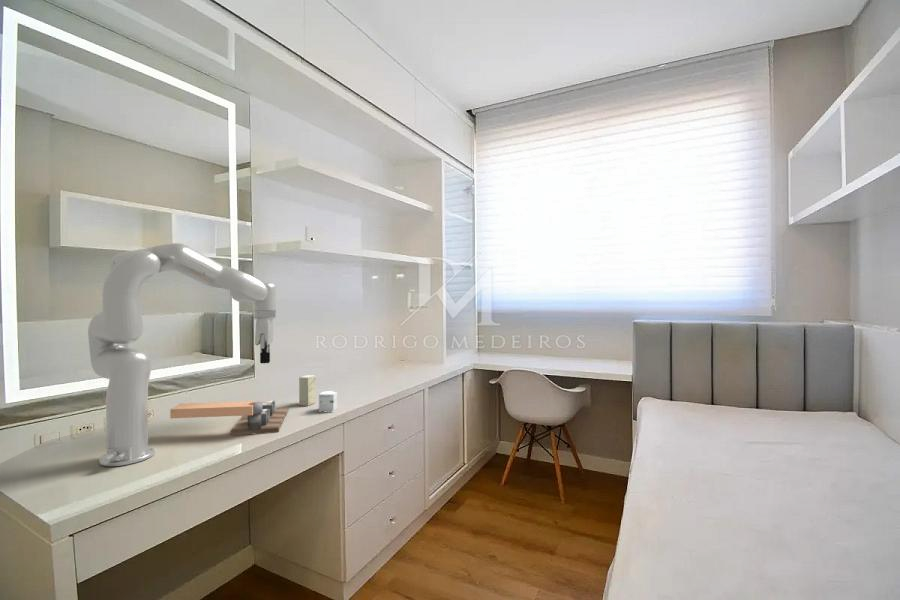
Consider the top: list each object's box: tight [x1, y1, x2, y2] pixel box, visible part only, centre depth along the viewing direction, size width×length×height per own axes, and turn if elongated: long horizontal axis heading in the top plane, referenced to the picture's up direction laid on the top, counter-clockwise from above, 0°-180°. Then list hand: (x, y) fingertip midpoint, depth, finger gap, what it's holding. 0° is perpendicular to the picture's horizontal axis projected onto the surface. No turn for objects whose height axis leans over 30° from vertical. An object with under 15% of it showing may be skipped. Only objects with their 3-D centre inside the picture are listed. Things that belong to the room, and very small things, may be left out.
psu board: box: [230, 400, 289, 436], centre depth 152 cm, size 27×15×7 cm, turn 14°
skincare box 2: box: [318, 390, 338, 413], centre depth 169 cm, size 6×6×7 cm
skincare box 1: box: [298, 374, 316, 407], centre depth 179 cm, size 6×4×12 cm
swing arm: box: [169, 400, 263, 419], centre depth 139 cm, size 27×7×3 cm, turn 99°
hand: (265, 362), depth 158 cm, fingers closed
